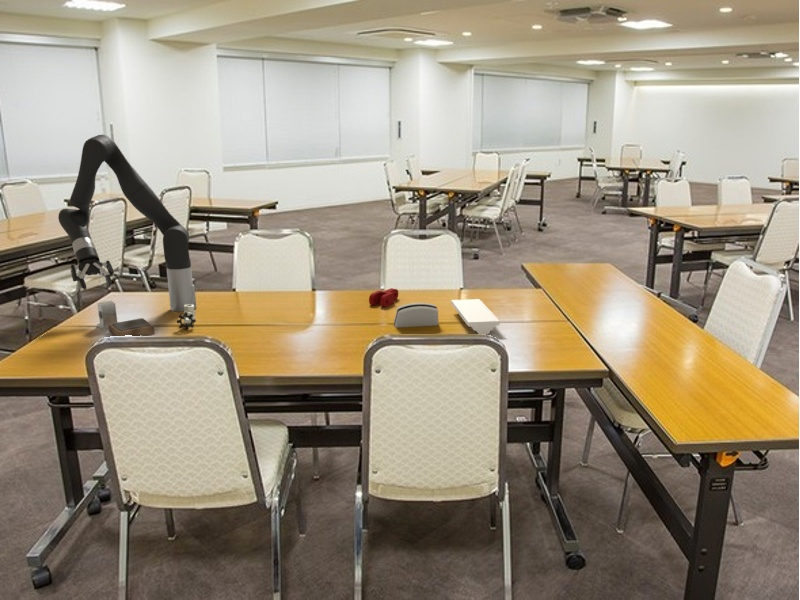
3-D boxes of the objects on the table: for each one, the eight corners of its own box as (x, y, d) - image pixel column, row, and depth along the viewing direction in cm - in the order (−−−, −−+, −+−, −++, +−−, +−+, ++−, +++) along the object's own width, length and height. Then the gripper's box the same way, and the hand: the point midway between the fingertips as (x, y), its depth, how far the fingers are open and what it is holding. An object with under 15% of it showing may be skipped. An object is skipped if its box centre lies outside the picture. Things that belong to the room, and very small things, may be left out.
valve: (181, 321, 244) (177, 330, 232) (180, 304, 242) (175, 313, 230) (199, 320, 245) (196, 329, 233) (198, 303, 243) (194, 312, 232)
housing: (115, 323, 240) (112, 299, 238) (120, 327, 236) (118, 303, 233) (97, 326, 237) (94, 302, 234) (102, 330, 232) (99, 306, 229)
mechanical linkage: (383, 308, 261) (383, 296, 260) (369, 306, 265) (368, 294, 263) (403, 299, 274) (403, 288, 273) (388, 297, 278) (388, 286, 277)
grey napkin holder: (436, 321, 244) (438, 299, 238) (438, 328, 240) (441, 306, 234) (392, 323, 241) (394, 301, 235) (394, 331, 237) (396, 309, 231)
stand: (143, 325, 237) (142, 317, 236) (154, 333, 228) (153, 325, 227) (109, 332, 230) (108, 323, 229) (119, 340, 221) (118, 331, 220)
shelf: (467, 336, 227) (468, 322, 226) (450, 312, 256) (451, 299, 255) (499, 335, 229) (499, 321, 227) (478, 311, 257) (479, 299, 256)
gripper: (65, 248, 238) (77, 284, 232) (106, 244, 247) (118, 278, 241) (64, 260, 243) (76, 295, 238) (104, 255, 252) (116, 289, 247)
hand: (97, 286), depth 239 cm, fingers open, 8 cm apart
